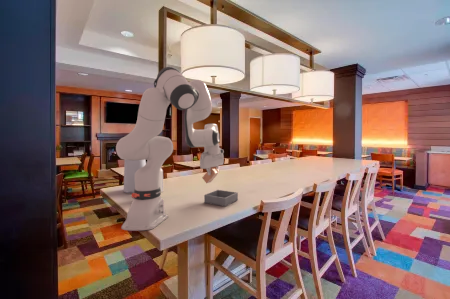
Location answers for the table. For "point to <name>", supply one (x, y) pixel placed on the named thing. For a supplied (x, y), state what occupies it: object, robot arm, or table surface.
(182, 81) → the robot arm
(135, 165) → the plastic bottle
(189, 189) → the table surface
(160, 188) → the milk carton
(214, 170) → the square container
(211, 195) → the tray
